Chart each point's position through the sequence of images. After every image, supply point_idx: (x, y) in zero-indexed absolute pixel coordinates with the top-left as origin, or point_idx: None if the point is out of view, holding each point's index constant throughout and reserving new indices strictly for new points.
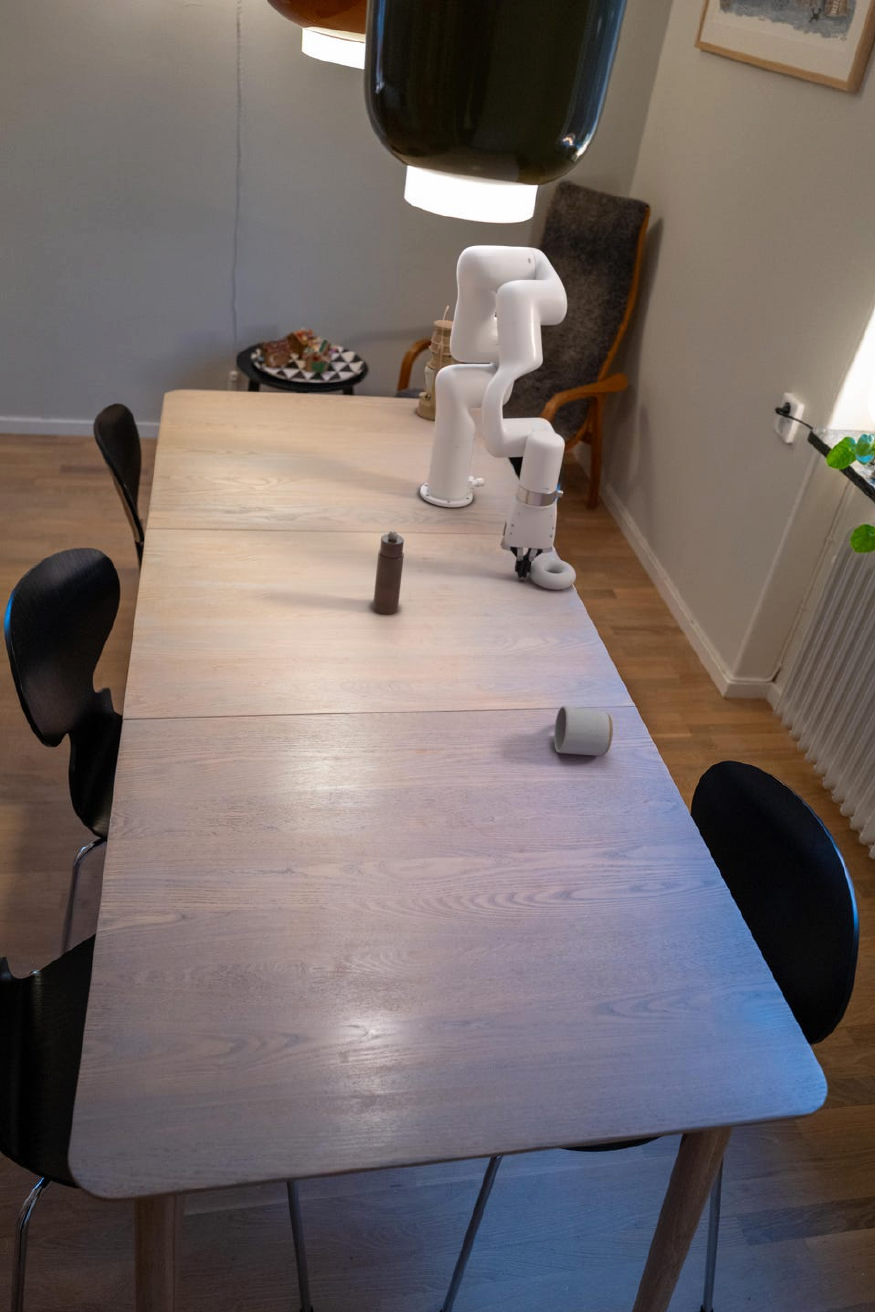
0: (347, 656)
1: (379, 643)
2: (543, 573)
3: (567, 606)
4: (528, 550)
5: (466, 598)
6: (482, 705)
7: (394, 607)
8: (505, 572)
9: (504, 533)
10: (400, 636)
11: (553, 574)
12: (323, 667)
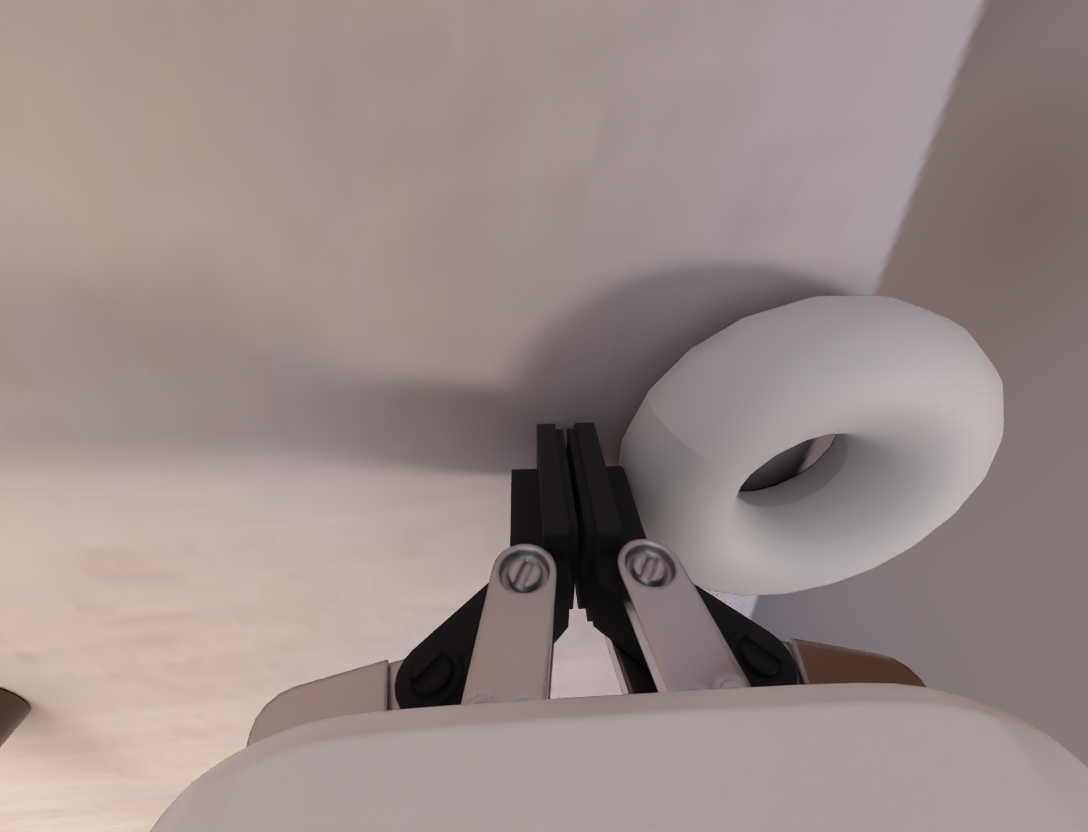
0: (51, 807)
1: (95, 780)
2: (696, 578)
3: (728, 604)
4: (633, 620)
5: (270, 619)
6: None
7: (1, 745)
8: (460, 376)
9: (185, 800)
10: (134, 762)
11: (760, 586)
12: (27, 825)
